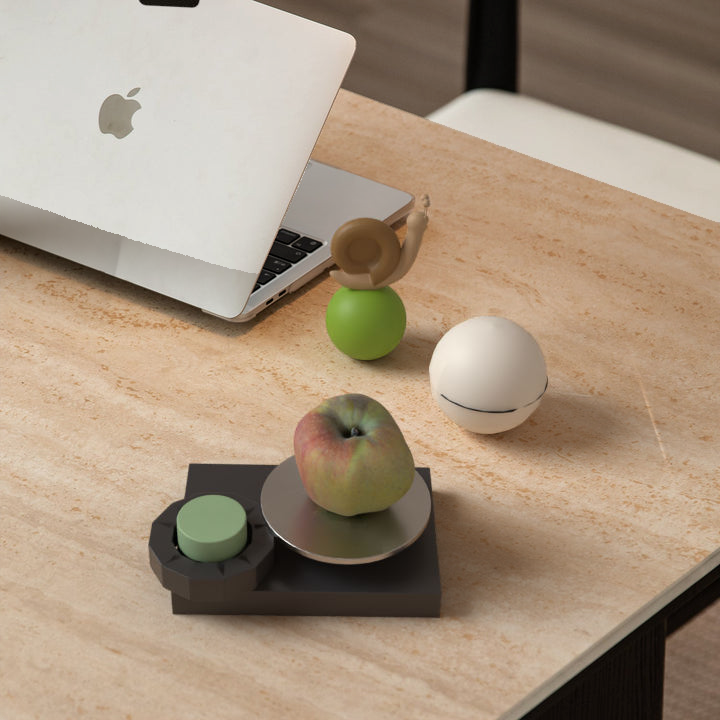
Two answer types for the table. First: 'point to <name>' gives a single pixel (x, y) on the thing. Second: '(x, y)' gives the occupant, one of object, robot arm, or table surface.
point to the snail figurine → (371, 284)
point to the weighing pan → (340, 521)
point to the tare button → (212, 528)
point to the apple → (353, 455)
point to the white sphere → (488, 374)
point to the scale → (287, 564)
